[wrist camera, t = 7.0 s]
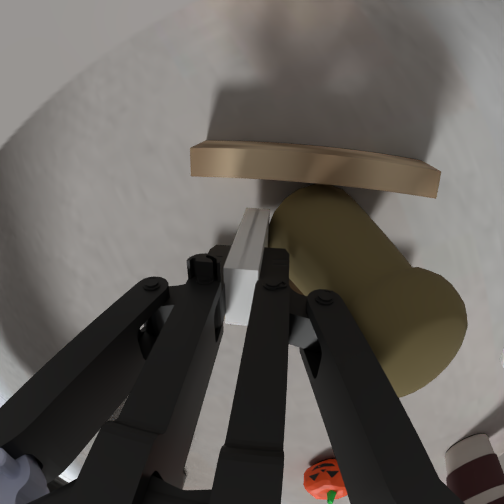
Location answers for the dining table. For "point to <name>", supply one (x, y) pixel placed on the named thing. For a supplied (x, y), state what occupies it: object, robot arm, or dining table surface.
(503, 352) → the butter dish
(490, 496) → the coffee cup
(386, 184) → the pair of wooden strips
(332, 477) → the pumpkin
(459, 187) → the dining table surface
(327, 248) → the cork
